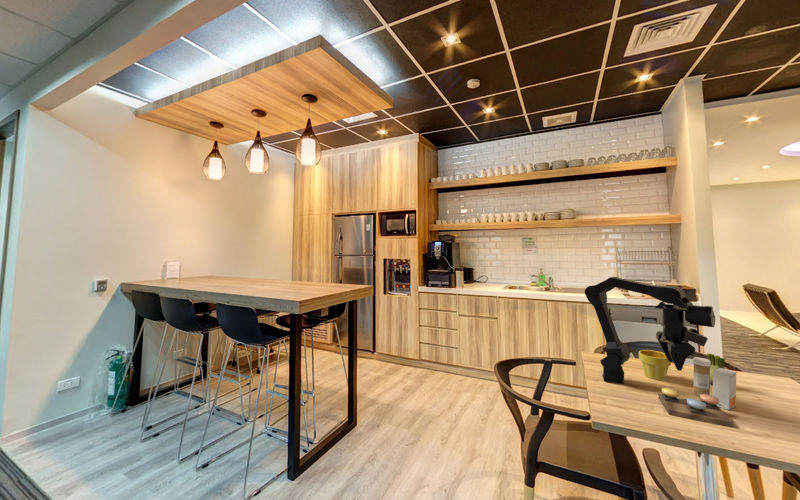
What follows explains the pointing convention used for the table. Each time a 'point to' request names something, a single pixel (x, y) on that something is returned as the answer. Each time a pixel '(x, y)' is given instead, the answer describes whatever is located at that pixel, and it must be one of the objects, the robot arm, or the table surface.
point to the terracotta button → (709, 399)
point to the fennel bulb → (715, 364)
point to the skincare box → (724, 388)
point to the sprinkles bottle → (701, 376)
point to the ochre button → (670, 392)
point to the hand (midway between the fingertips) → (674, 365)
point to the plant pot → (654, 364)
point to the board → (694, 411)
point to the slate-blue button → (696, 404)
